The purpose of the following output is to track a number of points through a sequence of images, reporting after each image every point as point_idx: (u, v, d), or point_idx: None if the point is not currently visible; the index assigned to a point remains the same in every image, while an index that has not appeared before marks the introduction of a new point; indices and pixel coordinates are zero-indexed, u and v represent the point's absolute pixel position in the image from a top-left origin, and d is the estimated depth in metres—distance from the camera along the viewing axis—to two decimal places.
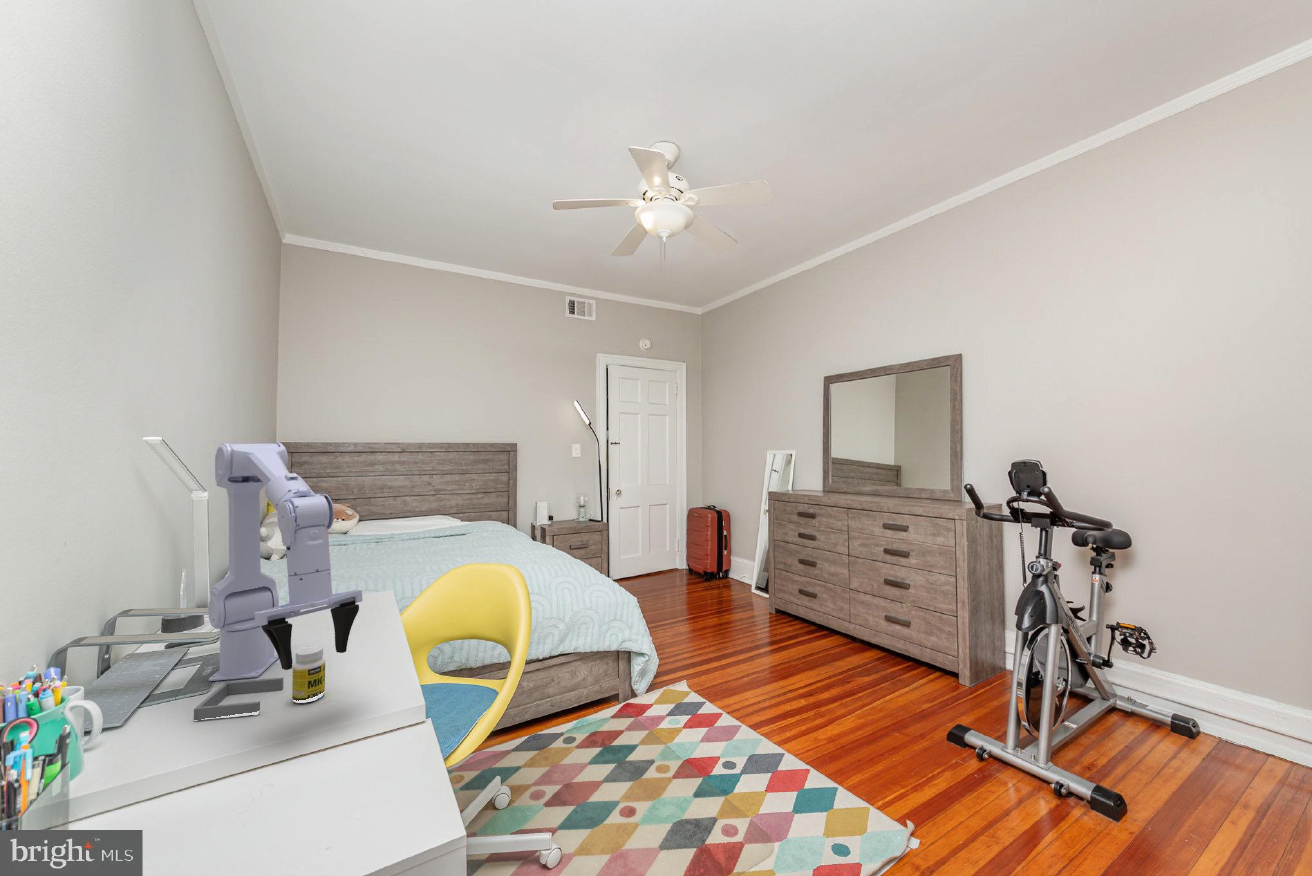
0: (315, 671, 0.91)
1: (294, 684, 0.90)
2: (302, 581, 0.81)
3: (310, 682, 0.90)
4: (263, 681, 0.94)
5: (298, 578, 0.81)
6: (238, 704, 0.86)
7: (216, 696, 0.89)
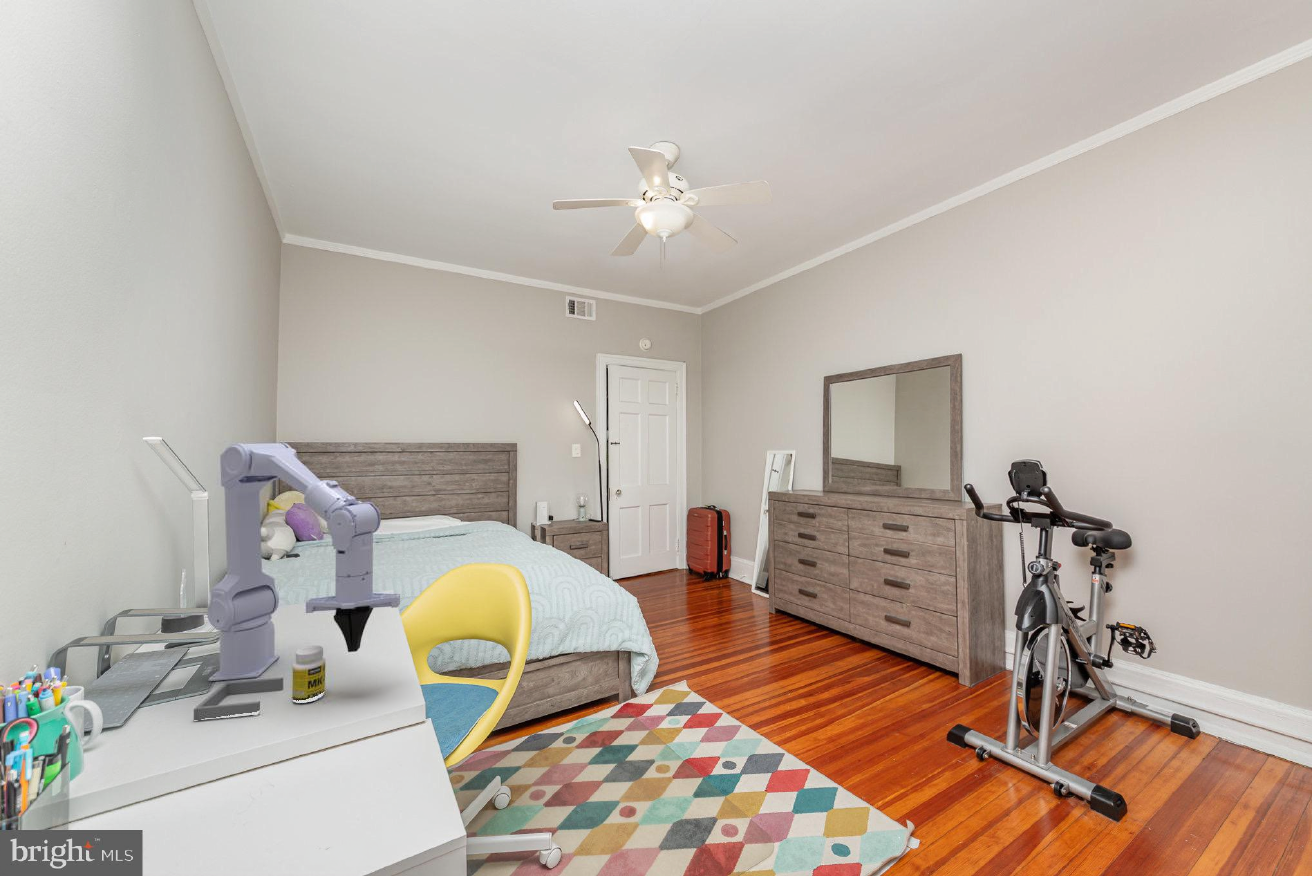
0: (315, 672, 0.91)
1: (294, 684, 0.90)
2: (338, 582, 0.91)
3: (310, 682, 0.90)
4: (263, 681, 0.94)
5: (336, 579, 0.91)
6: (238, 704, 0.86)
7: (216, 696, 0.89)
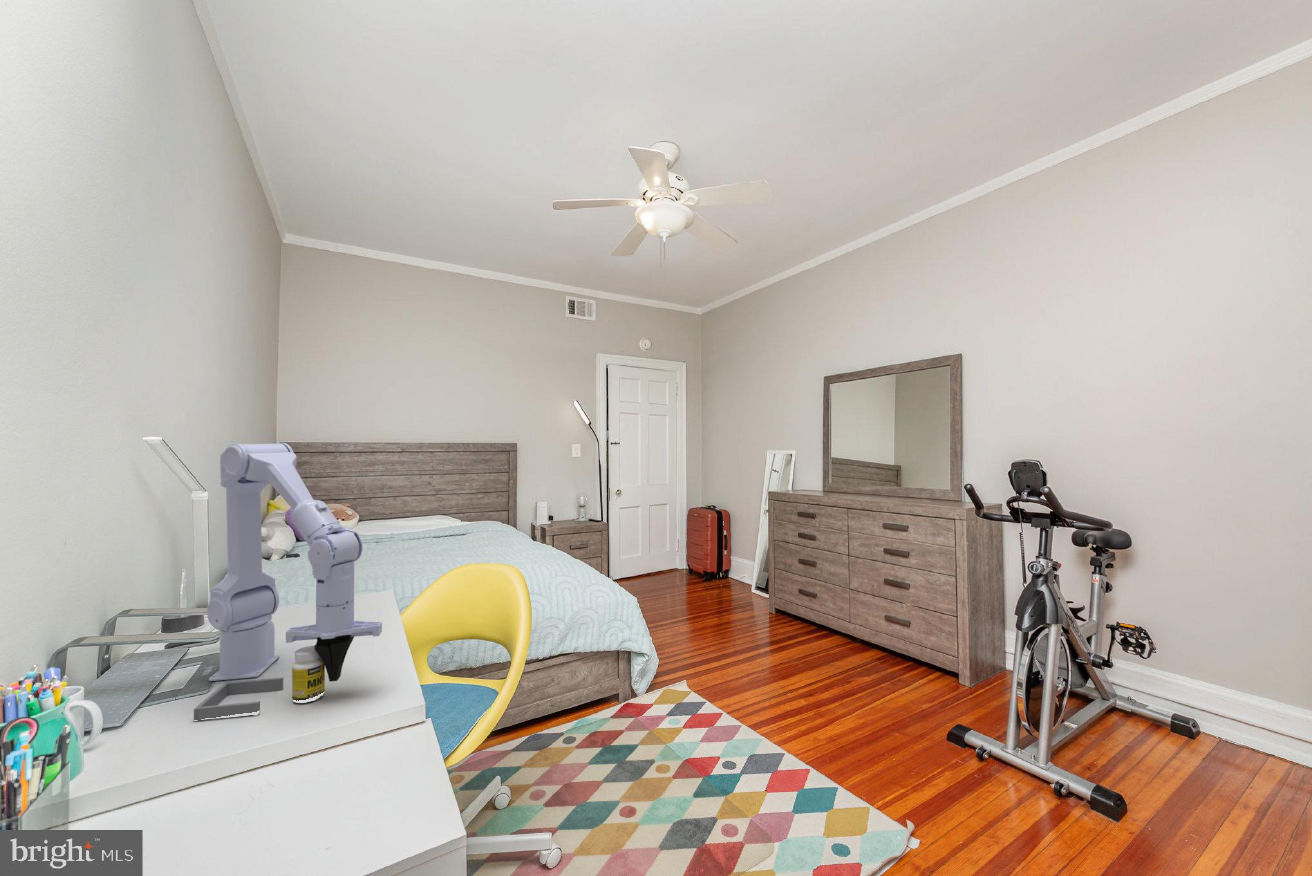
0: (314, 671, 0.91)
1: (294, 684, 0.90)
2: (318, 612, 0.90)
3: (309, 682, 0.90)
4: (263, 681, 0.94)
5: (317, 608, 0.91)
6: (238, 704, 0.86)
7: (216, 696, 0.89)
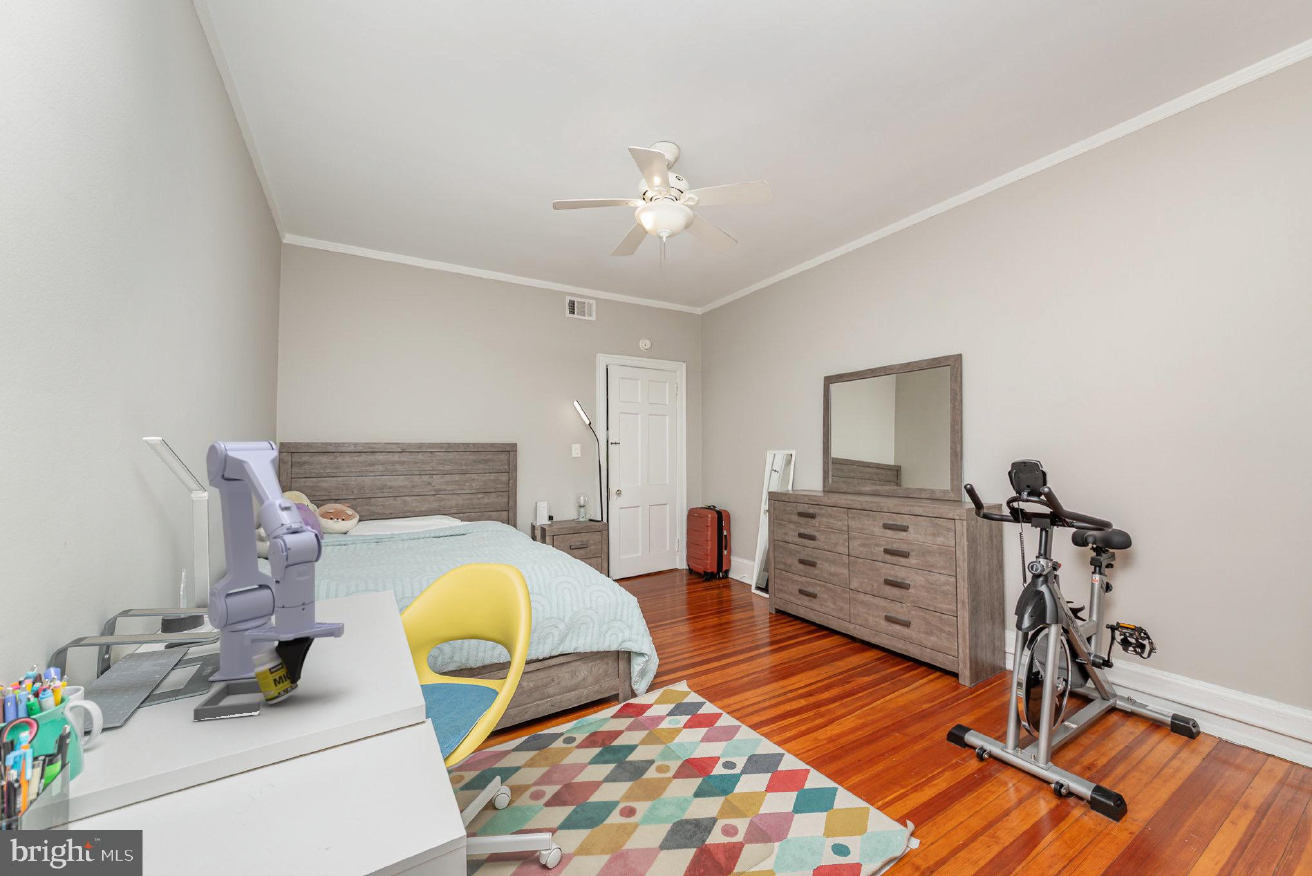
0: (277, 669, 0.89)
1: (261, 687, 0.89)
2: (277, 613, 0.89)
3: (275, 680, 0.89)
4: None
5: (275, 609, 0.89)
6: (238, 704, 0.86)
7: (216, 696, 0.89)
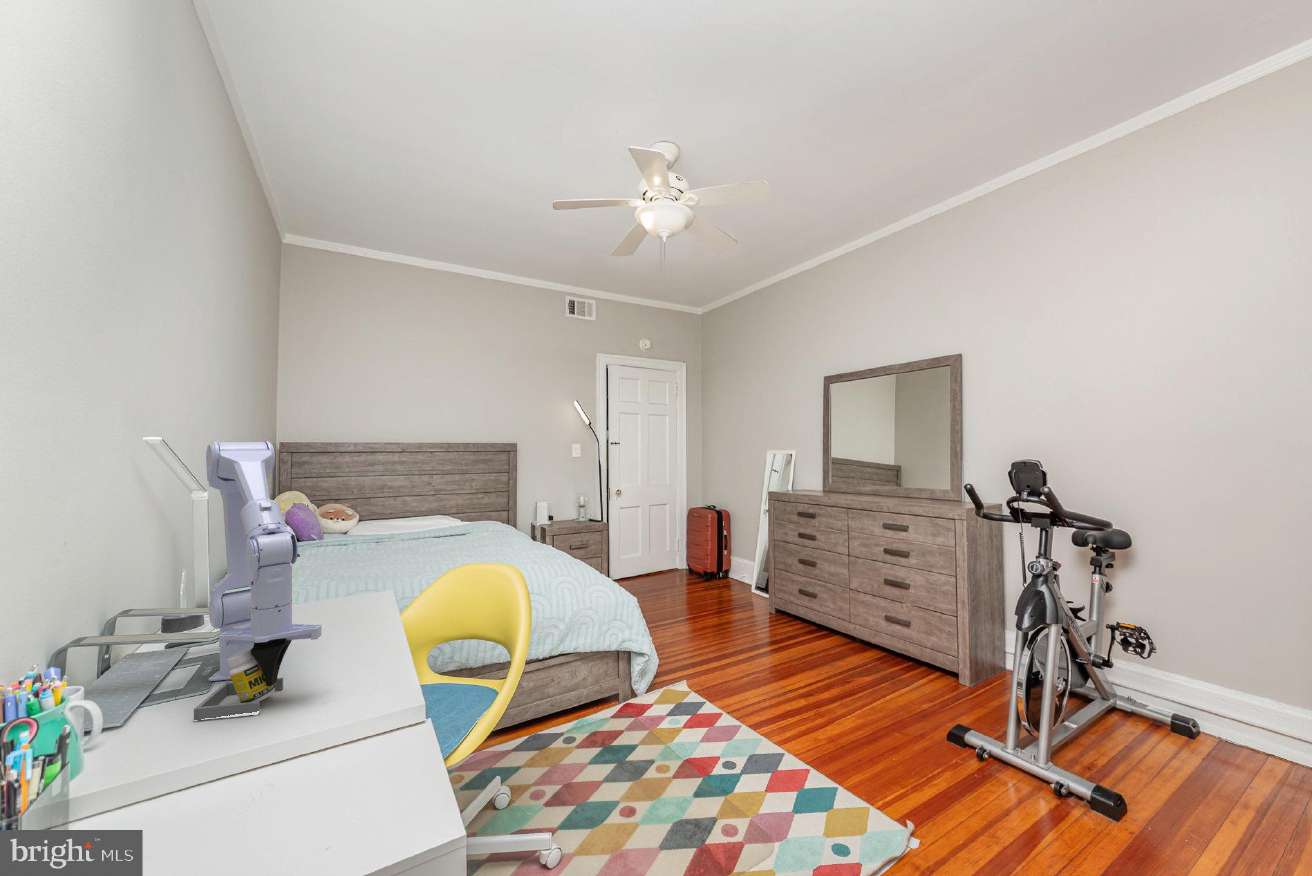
0: (252, 671, 0.88)
1: (236, 689, 0.88)
2: (253, 615, 0.88)
3: (250, 682, 0.88)
4: None
5: (251, 611, 0.88)
6: (238, 704, 0.86)
7: (216, 696, 0.89)
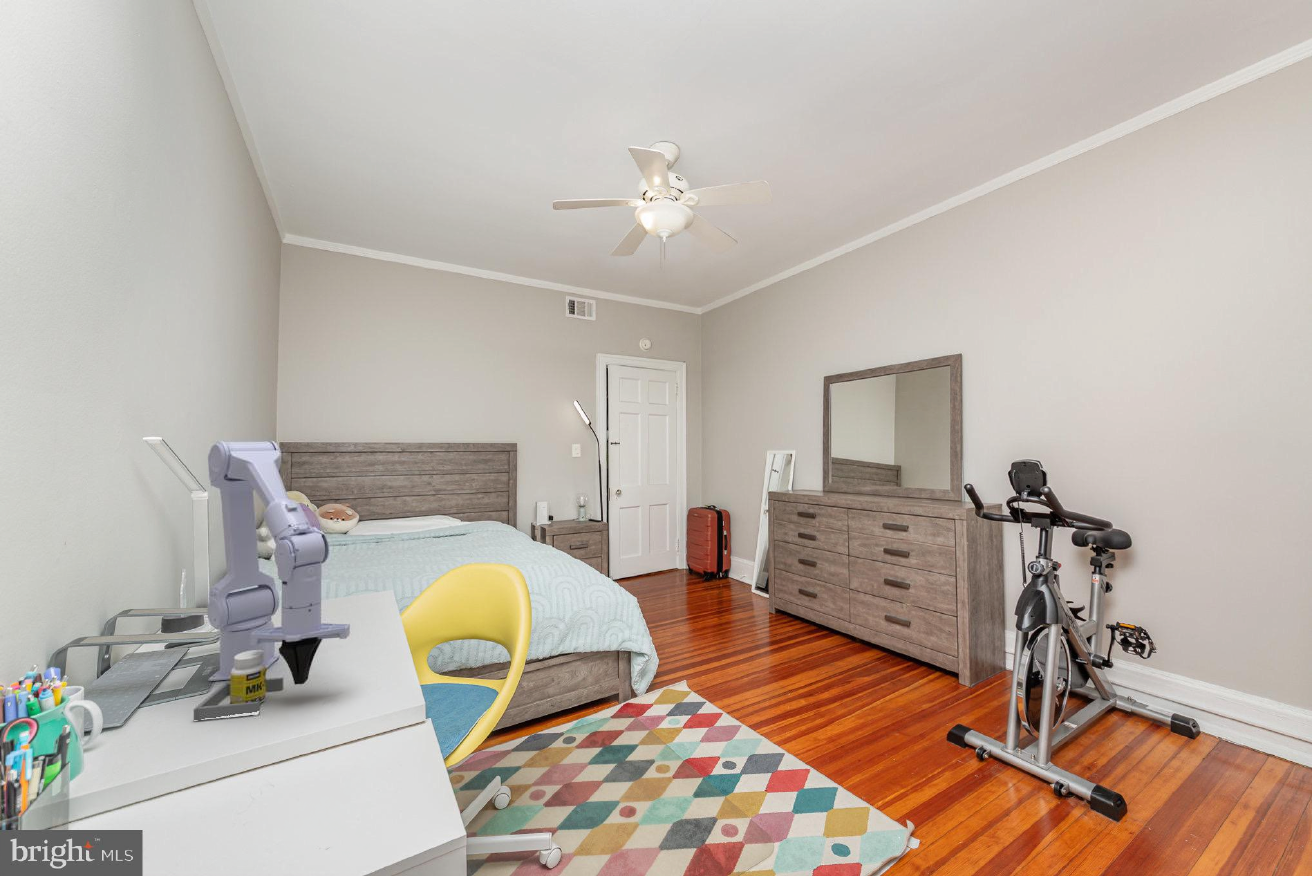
0: (254, 677, 0.88)
1: (232, 690, 0.88)
2: (284, 614, 0.89)
3: (248, 688, 0.88)
4: None
5: (282, 610, 0.89)
6: (238, 704, 0.86)
7: (216, 696, 0.89)
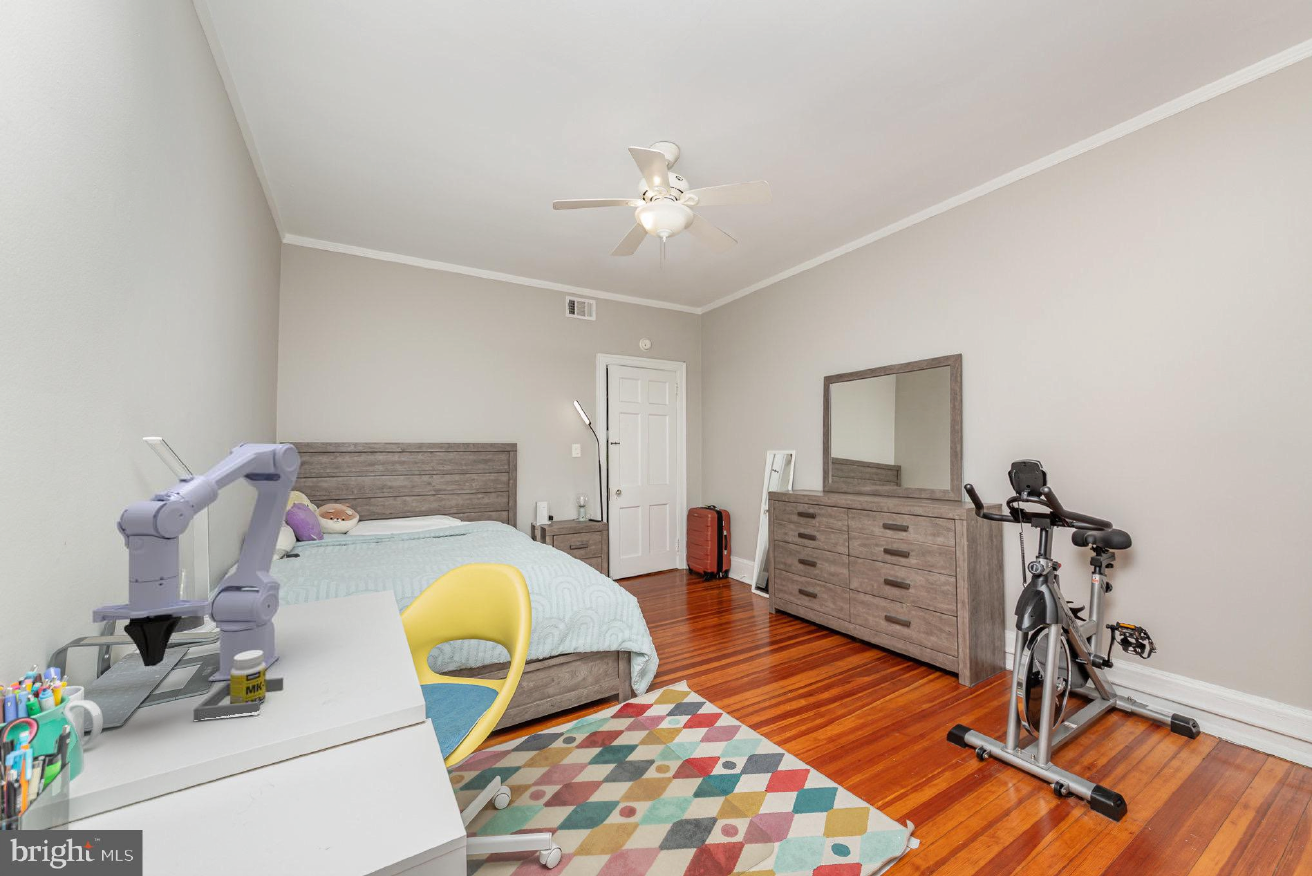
0: (253, 677, 0.88)
1: (231, 690, 0.88)
2: (130, 588, 0.81)
3: (248, 688, 0.88)
4: None
5: (129, 584, 0.81)
6: (238, 704, 0.86)
7: (216, 696, 0.89)
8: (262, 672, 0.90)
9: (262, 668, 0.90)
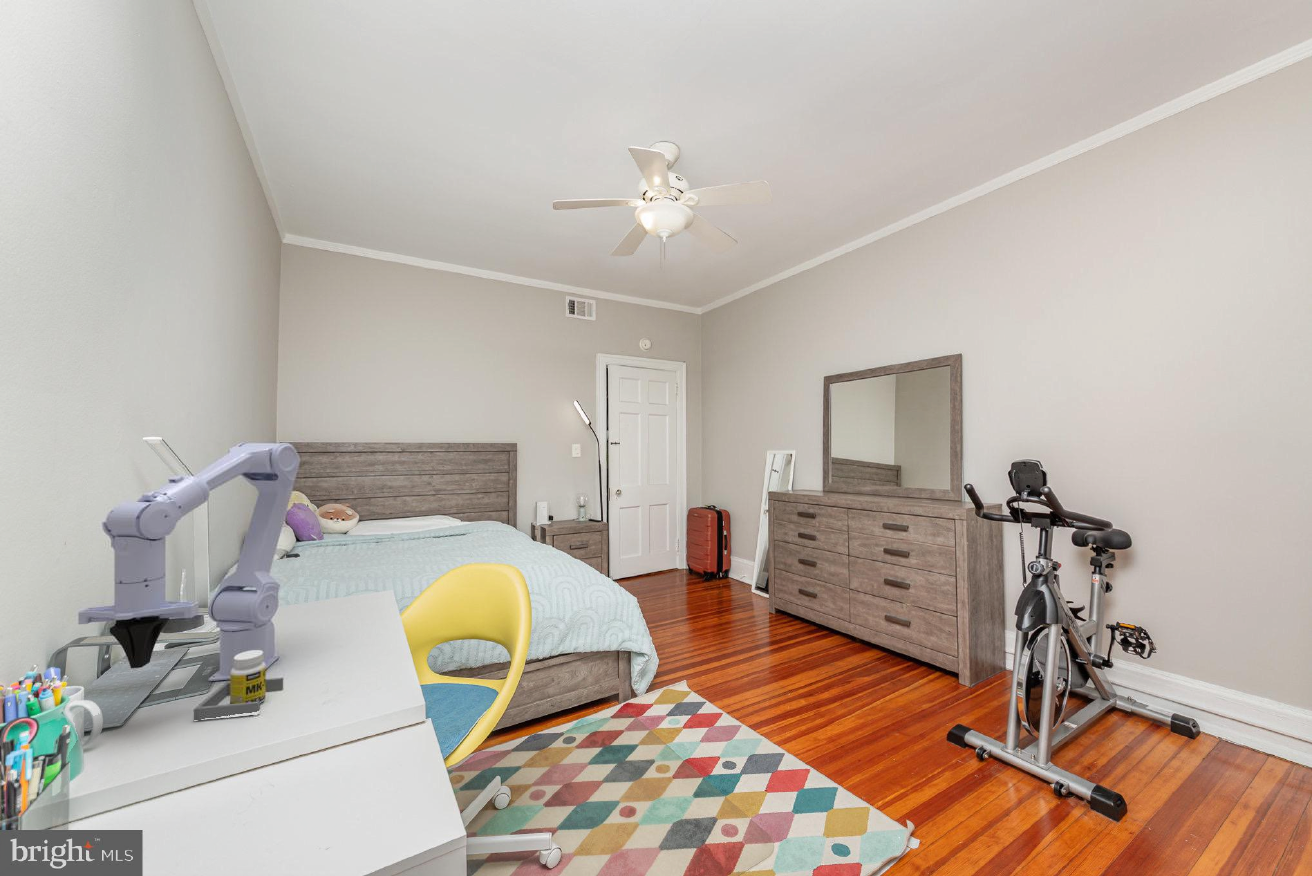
0: (253, 677, 0.88)
1: (232, 690, 0.88)
2: (115, 589, 0.80)
3: (248, 688, 0.88)
4: None
5: None
6: (238, 704, 0.86)
7: (216, 696, 0.89)
8: (262, 672, 0.90)
9: (262, 668, 0.90)
